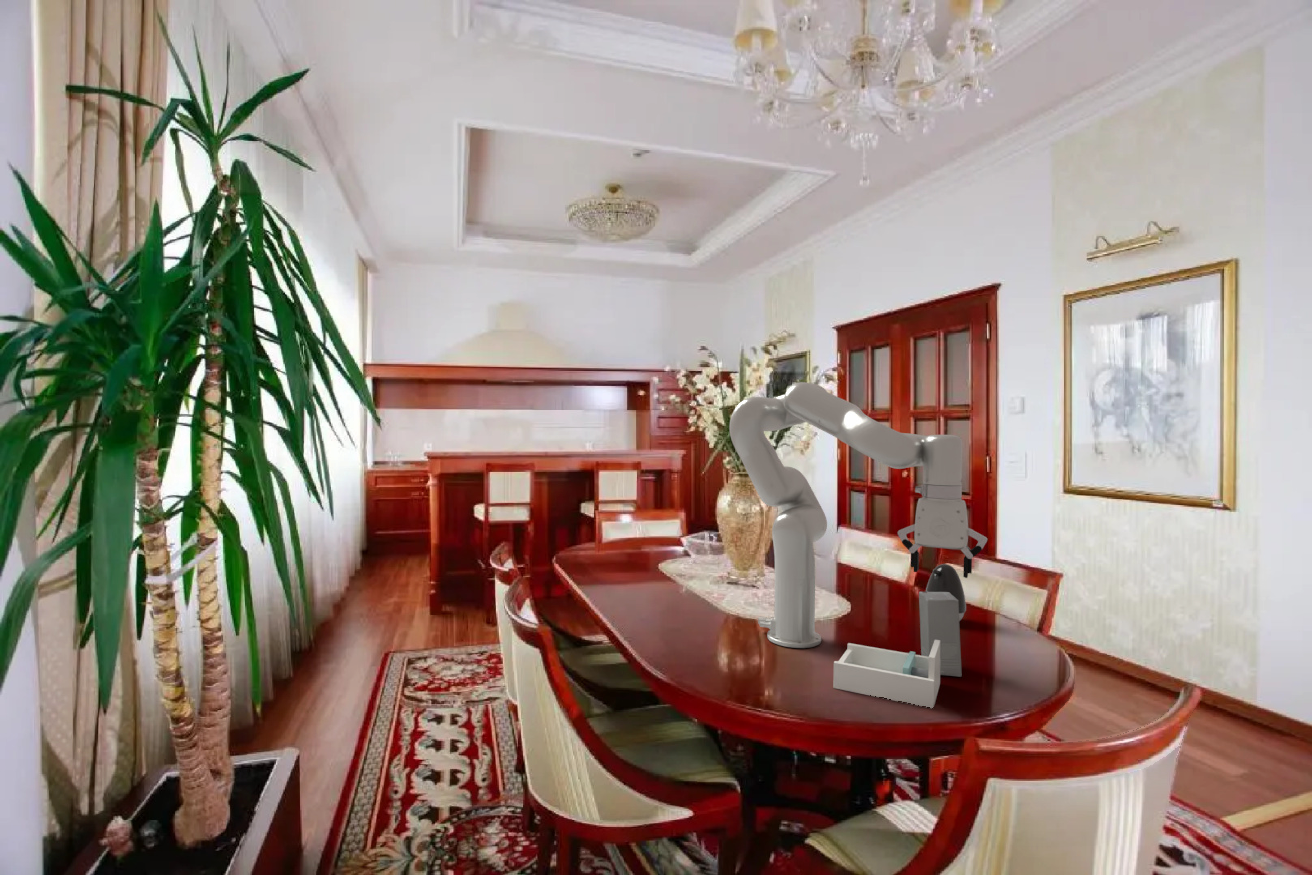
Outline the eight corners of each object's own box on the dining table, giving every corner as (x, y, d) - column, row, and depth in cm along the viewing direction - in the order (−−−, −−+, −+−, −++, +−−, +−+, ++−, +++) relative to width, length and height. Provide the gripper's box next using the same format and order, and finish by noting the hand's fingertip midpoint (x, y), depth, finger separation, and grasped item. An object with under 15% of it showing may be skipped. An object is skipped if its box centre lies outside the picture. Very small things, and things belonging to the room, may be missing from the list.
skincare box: (962, 678, 129) (963, 601, 129) (925, 675, 130) (926, 598, 130) (951, 663, 137) (953, 590, 137) (916, 660, 139) (918, 588, 138)
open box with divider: (833, 687, 123) (833, 642, 123) (848, 666, 135) (848, 624, 135) (933, 708, 115) (934, 659, 114) (940, 683, 126) (940, 638, 126)
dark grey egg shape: (915, 619, 168) (916, 562, 168) (937, 613, 174) (938, 558, 174) (951, 629, 160) (952, 570, 160) (973, 622, 166) (974, 565, 166)
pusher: (902, 692, 119) (902, 667, 119) (909, 674, 127) (910, 651, 127) (926, 697, 117) (927, 671, 116) (932, 678, 125) (932, 654, 125)
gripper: (895, 492, 134) (894, 572, 134) (987, 497, 126) (986, 582, 126) (901, 489, 141) (899, 565, 141) (988, 494, 132) (987, 575, 133)
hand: (940, 573), depth 134 cm, fingers open, 9 cm apart
